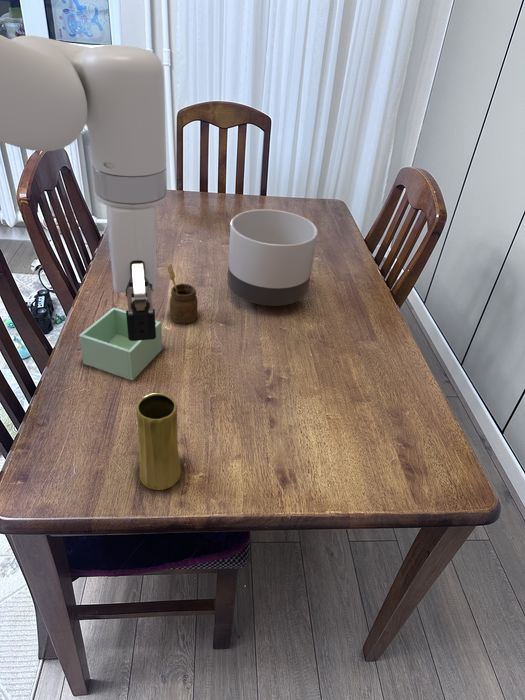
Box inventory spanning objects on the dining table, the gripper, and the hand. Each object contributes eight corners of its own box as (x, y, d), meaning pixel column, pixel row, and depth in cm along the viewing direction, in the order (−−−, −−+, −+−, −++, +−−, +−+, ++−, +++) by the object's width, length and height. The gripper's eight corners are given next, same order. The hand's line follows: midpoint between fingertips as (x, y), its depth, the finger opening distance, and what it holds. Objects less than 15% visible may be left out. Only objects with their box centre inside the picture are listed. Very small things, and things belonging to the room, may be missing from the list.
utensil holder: (190, 327, 104) (190, 278, 97) (163, 320, 105) (162, 270, 98) (201, 313, 109) (202, 265, 101) (176, 306, 110) (175, 258, 103)
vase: (177, 492, 71) (176, 424, 62) (135, 489, 71) (128, 420, 62) (183, 459, 76) (183, 392, 67) (144, 456, 76) (138, 388, 67)
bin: (83, 363, 92) (78, 335, 88) (116, 334, 100) (113, 307, 96) (132, 380, 89) (130, 352, 85) (162, 349, 97) (161, 322, 93)
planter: (321, 307, 115) (335, 238, 105) (250, 324, 107) (257, 251, 96) (280, 270, 128) (288, 205, 118) (213, 282, 120) (216, 213, 109)
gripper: (95, 157, 57) (109, 283, 68) (92, 215, 44) (110, 360, 55) (160, 158, 59) (163, 281, 70) (175, 214, 46) (177, 355, 57)
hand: (140, 316), depth 62 cm, fingers open, 9 cm apart
